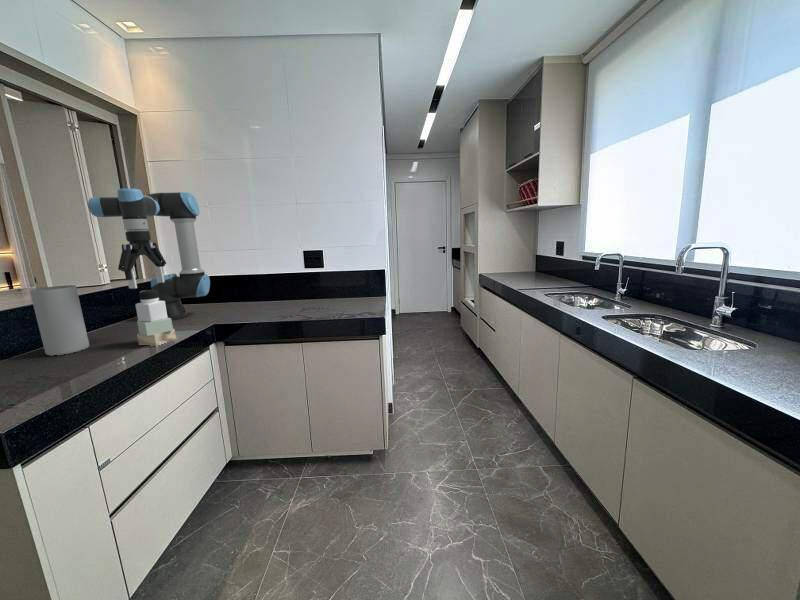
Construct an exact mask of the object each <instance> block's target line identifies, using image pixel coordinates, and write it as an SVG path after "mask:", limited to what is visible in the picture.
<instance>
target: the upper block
mask: <svg viewBox="0 0 800 600" xmlns="http://www.w3.org/2000/svg"><path fill="white" fill-rule="evenodd" d="M136 322H137V328H138V334H140V333H141V334H144V335H146V336H150V335H154V334H159V333H163V332H168V331H172V330H173V329H174V326H173V320H171V318H168V317H167V318H165V319H161V320H157V321H153V322H144V321H138V320H136Z"/></svg>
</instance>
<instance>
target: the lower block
mask: <svg viewBox="0 0 800 600" xmlns="http://www.w3.org/2000/svg"><path fill="white" fill-rule="evenodd" d="M136 336H137V342H138V346H139V345H150V346H149V347H153V346H157V347H159V346H158V345H160V346H162V345H161V344H163V345H165V344H164V343H166V344H168V343H167V342H169V341H171V342H173V340H174V341H176V340H175V339H177V333H176V328H173V330H172V331H168V332H163V333H159V334H154V335H150V336H146V335H144V334H141V333H137V334H136ZM169 343H170V342H169Z"/></svg>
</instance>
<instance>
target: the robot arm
mask: <svg viewBox="0 0 800 600" xmlns="http://www.w3.org/2000/svg"><path fill="white" fill-rule="evenodd" d="M87 207H88V211H89V212H90V214H91V215H92V216H94V217H96V218H112V217H113V218H115V217H117V218H118V217H122V218H121V219H122V224H123V228H124V231H125V234H124V235H125V239H126V242H129V243H125V244H121V254H120V257H119V262H118V267H117V269H118V271H121V272H123V273H124V276H125V280H126V281H127V285H128V289H138V285H137V281H136V276H135V275H136V274H135V271H134V270H133V268H134V266H135V264H136V262H137V261H138V260H137V259H138V258H139V257H140V256H146V258H148V259H149V260H150V261H151V263H152V264H153V265H154V273H155V277H152V278H151V279H150V287H151V290H157V291H158V296H159V300H158V301H165V304H166V310H167V316H168V318H171V320H172V321H175V320H179V319H184V318H186V317H187V316H188V313H187V311H186V309H185V307H184V305H183V304H182V301H181V299H184V298H199V297H205V296H207V295H208V294H209V292H210V288H211V287H210V286H211V280H210V279H211V278H210V275H208V274H207V273H205V270H203V268H201V262H200V256H199V248H198V241H197V237H196V229H195V222H196V221H197V217H198V216H200V207H199V204H198V201H197V199H196V198H195V196H194V195H193V194H192V193H190V192H182V191H181V192H179V191H178V192H154V193H147V194H143V192H142V190H141V189H138V188H129V187H128V188H127V187H126V188H119V189H118V190H117V196H115V197H114V196H112V197H110V196H109V197H108V196H107V197H106V196H104V197H103V196H101V197H100V196H98V197H91V198H90V199H88V202H87ZM154 216H156V217H169V220H170V221H171V222H173V225H174V228H175V234H176V241H177V247H178V253H179V261H180V265H181V270H180V271H179V273H178V274H179V276H178V275H177V274H176V273H170V274H165V275H164V267H165V266H166V265H167V262H166V260H165V257H164V256H163V254H162V252H161V251H160V250H159V247H158V244H157V243H156V242H150V241H151V234H150V231H149V229H150V228H149V224H148V217H154Z"/></svg>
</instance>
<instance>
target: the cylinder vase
mask: <svg viewBox="0 0 800 600" xmlns="http://www.w3.org/2000/svg"><path fill="white" fill-rule="evenodd" d="M29 294H30V298H31V301H32V305H33V310H34V313H35V317H36V321H37V322H36V323H37V325H38V329H39V334H40V336H41V341H42V345H43V349H44V353H45V355H47V356H51V357H53V356H54V355H57V356H63V355H64V354H65V355H70V354H74V352H75V353H78V352H81V350H82V351H83V350H84V351H85V350H86V349H88V348H89V347H90V341H89V338H88V333H87V328H86V324H85V320H84V316H83V311H82V307H81V302H80V297H79V293H78V289H77V285H76V284H75V285H74V284H72V285H71V284H69V285H57V286H56V285H55V286H46V287H38V288H33V289H29ZM65 355H64V356H65ZM54 357H55V356H54Z"/></svg>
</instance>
